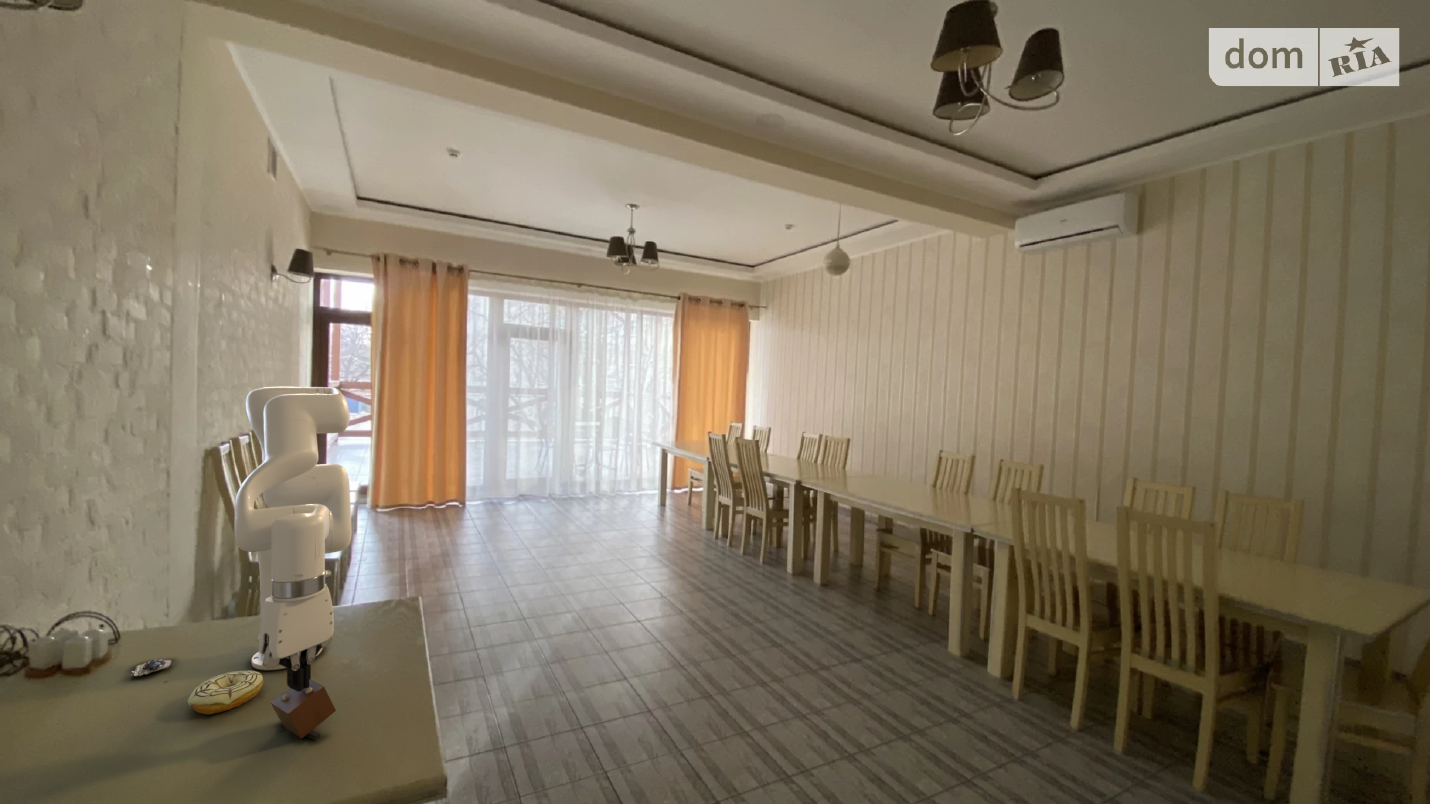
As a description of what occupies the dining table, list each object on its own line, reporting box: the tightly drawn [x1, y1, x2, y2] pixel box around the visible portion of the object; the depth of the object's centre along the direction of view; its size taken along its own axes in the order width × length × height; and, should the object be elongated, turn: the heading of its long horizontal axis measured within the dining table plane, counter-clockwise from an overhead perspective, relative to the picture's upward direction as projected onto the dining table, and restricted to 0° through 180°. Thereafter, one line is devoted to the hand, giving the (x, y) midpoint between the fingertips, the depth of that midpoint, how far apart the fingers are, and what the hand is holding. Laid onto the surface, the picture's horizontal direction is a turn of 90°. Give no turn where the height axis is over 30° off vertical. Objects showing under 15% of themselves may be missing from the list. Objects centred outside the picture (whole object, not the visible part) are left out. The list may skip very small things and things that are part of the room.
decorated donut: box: [187, 670, 264, 715], centre depth 108 cm, size 10×11×4 cm
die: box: [270, 678, 337, 739], centre depth 100 cm, size 6×6×6 cm
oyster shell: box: [130, 658, 172, 677], centre depth 119 cm, size 7×8×2 cm
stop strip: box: [280, 722, 321, 741], centre depth 100 cm, size 10×1×1 cm, turn 66°
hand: (299, 687), depth 99 cm, fingers closed
